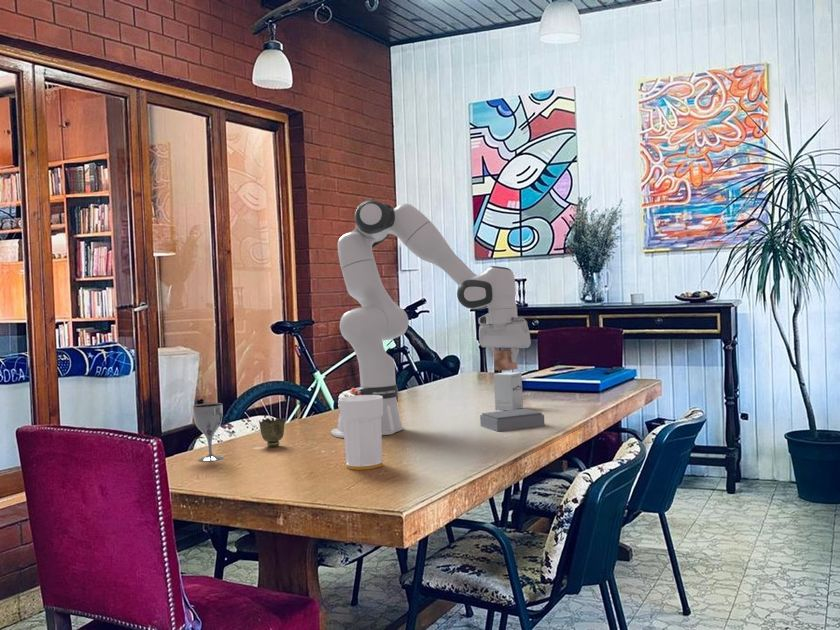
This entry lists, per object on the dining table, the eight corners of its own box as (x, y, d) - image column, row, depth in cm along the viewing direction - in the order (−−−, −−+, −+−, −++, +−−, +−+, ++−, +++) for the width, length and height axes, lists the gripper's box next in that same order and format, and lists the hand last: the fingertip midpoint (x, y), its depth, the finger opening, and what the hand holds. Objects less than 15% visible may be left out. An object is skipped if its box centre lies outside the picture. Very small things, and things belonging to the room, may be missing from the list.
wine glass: (200, 456, 242) (197, 403, 242) (228, 455, 242) (225, 402, 241) (192, 462, 234) (188, 407, 234) (221, 461, 234) (217, 406, 233)
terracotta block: (494, 370, 268) (493, 351, 268) (505, 368, 272) (503, 349, 272) (507, 370, 265) (506, 351, 265) (517, 368, 268) (516, 349, 268)
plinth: (497, 431, 258) (496, 418, 258) (480, 425, 269) (479, 413, 269) (544, 425, 263) (543, 412, 263) (526, 420, 275) (525, 408, 275)
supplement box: (512, 411, 296) (511, 374, 296) (494, 410, 301) (492, 374, 300) (523, 407, 302) (522, 372, 302) (505, 406, 307) (504, 371, 306)
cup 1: (278, 449, 247) (276, 421, 247) (255, 448, 250) (254, 421, 250) (290, 444, 254) (289, 417, 254) (268, 443, 257) (267, 417, 257)
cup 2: (391, 467, 214) (387, 398, 214) (347, 472, 211) (343, 402, 211) (380, 459, 225) (377, 393, 225) (338, 464, 222) (334, 397, 221)
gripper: (533, 316, 261) (536, 362, 262) (489, 317, 278) (492, 360, 278) (518, 318, 258) (521, 364, 258) (474, 318, 274) (477, 362, 274)
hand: (505, 362), depth 268 cm, fingers closed on terracotta block, 5 cm apart
